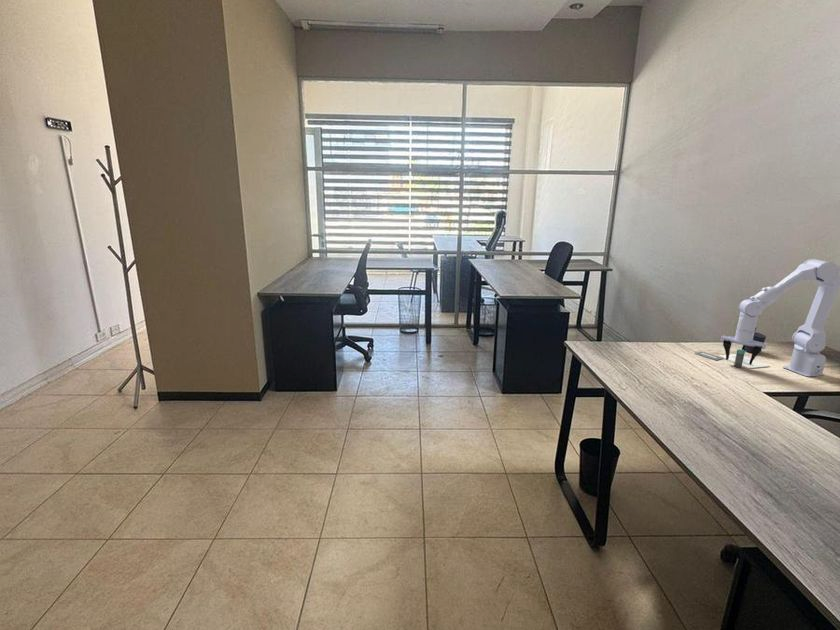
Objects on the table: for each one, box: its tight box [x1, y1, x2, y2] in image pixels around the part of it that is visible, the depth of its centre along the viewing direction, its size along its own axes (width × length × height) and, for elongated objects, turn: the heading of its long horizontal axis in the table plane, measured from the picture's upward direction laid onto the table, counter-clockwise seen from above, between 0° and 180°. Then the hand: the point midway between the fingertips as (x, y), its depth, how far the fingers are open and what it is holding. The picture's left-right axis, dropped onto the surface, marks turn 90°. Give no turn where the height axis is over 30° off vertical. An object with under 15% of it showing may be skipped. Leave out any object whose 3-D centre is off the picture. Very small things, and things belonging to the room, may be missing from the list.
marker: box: [733, 348, 746, 369], centre depth 169 cm, size 3×3×7 cm
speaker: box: [741, 327, 767, 354], centre depth 185 cm, size 8×6×10 cm
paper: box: [718, 353, 770, 370], centre depth 175 cm, size 14×10×1 cm
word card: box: [694, 351, 724, 361], centre depth 181 cm, size 9×5×1 cm, turn 26°
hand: (738, 361), depth 170 cm, fingers open, 7 cm apart
